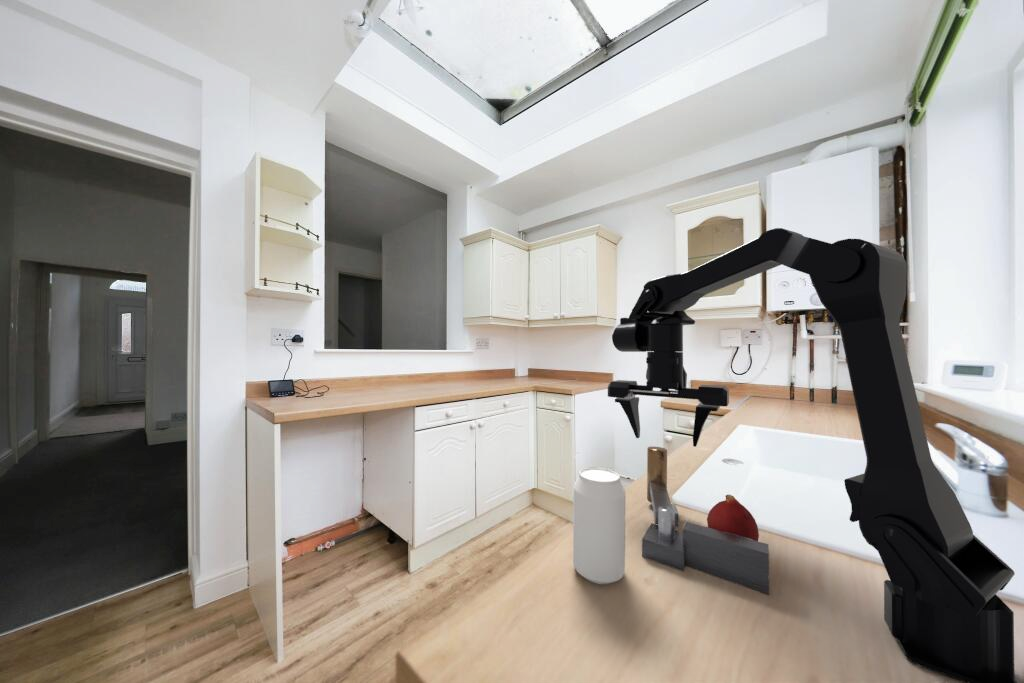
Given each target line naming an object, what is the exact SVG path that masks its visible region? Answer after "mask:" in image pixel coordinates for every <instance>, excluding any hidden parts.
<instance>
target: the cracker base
mask: <svg viewBox="0 0 1024 683" xmlns="http://www.w3.org/2000/svg"><path fill="white" fill-rule="evenodd" d="M675 527H676V526H675V510H674V509H673V508H670V507H667V506H660V507H659V516H658V524H655V523H654V522H652V523H651V524H650V525H649V526H648V528H647V530H646V531H645V534H644V535H643V536H642V538H641V542H642V543H641V557H642V558H644V559H647V560H650V561H653V562H655V563H657V564H658V563H659V564H662V565H664V566H666V567H667V566H668V567H670V568H672V569H675V570H678V571H681V572H685V569H686V567H687V568H689V569H692V570H695V571H698V572H701V573H703V574H704V573H705V574H707V575H710V576H711V577H715V578H719V579H721V580H724V581H727V582H729V583H734V584H735V585H739V586H741V587H744V588H747V589H750V590H753V591H756V592H759V593H761V594H764V595H767V596H770V549H769V543H765V542H761V541H759V540H758V541H755V540H753V539H750V538H746V537H742V536H739V535H735V534H732V533H728V532H722V531H719V530H715V529H712V528H708V526H705V525H701V524H697V523H694V522H690V521H685V523H684V526H683V529H682V531H678V530H676V528H675Z"/></svg>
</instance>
